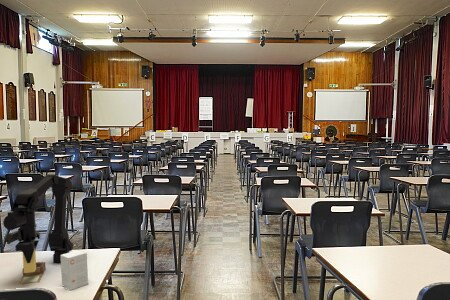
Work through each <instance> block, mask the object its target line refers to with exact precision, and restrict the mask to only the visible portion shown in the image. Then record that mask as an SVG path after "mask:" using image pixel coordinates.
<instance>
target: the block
mask: <svg viewBox="0 0 450 300" xmlns="http://www.w3.org/2000/svg"><path fill="white" fill-rule="evenodd" d="M36 254H37V253H36V250H34V253H33V256H32V259H31V262H30V263H27V261H26V259H25V256H24V253H23V252H22V264H23V268H24V273H30V272H35V270H36V262H37V259H36V257H37V256H36ZM23 268H22V269H23Z"/></svg>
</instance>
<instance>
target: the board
mask: <svg viewBox="0 0 450 300" xmlns="http://www.w3.org/2000/svg"><path fill="white" fill-rule="evenodd" d="M44 273H45V272H44ZM44 273H43V274H40V275H33V276H23V275H22V277H21V279H20V280H19V282H18V284H17V285H18V286H19V285H28V284H37V283H40V282H41V281H42V277H43V275H44Z"/></svg>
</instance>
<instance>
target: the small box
mask: <svg viewBox="0 0 450 300" xmlns="http://www.w3.org/2000/svg"><path fill="white" fill-rule="evenodd" d="M69 252H70V253H66V254H62V255H60V256H61V263H60V269H61V285H62V288H64V289H66V288H67V289H66V290H68V289H69V290H68V291H73V290H75V289H77V288H81V287H83V286H87V285H89V276H88V275H89V273H88V271H89V270H88V253H87V252H86V251H82V250H80V249H77V250H74V251H69Z"/></svg>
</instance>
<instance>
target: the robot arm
mask: <svg viewBox="0 0 450 300" xmlns="http://www.w3.org/2000/svg"><path fill="white" fill-rule="evenodd" d="M72 186H73V183H72V181H71V179H70V178H66V177H62V176H59V175H57V174H46V175H44V177H43V178H42V179H40V180H39V181H38V182H37V183H35V185H33V186H31V188H30V189H26V190H23V191H21V192H19V193H17V194H16V196H15V199H14V201H13V203H12V206H11V209H10V211H8V212H7V215H6V216H5V217H4V219H3V221H2V223H3V226H4V228H5V229H6V230H8V231H12V232H8V233H7V234H6V235H5V236H4V242H5V243H6V244H7V245H10V244H11V243H13V242H14V243H15V242H16V241H18V242H17V243H16V245H15V246H14V247H15V252H22V254H23V253H24V256H25V259H26V261H27V263H30V262H31V259H32V256H33V253H34V250H35V251H36V249H37V247H38V244H39V241H40V239H41V232H40V231H37V226H38V225H37V224H36V212H37V211H38V210H39V208H38V207H36V206H37V204H38V203H39V201H40V197H41V196H42V195H44V194H45V193H46V192H47V191H48V190H49V189H50V188H51V193H52V195H53V196H54V199H55V200H54V201H55V202H54V215H53V217H54V218H53V229H52V231H51V233H50V232H49V233H48V241H47V242H48V246H49V249H50V252H53V255H52V258H53V259H52V262H53V264H61V256H60V255H62V254H66V253H70V252H73V251H72V250H73V248H74V243H72V241H71V240H70V234H69V233H68V230H66V224H67V223H66V220H67V219H66V218H67V202H68V201H67V199H68V197H69V195H70V194H71V193H72V192H71V191H72ZM15 229H17V230H15ZM36 239H38V240H36Z"/></svg>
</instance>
